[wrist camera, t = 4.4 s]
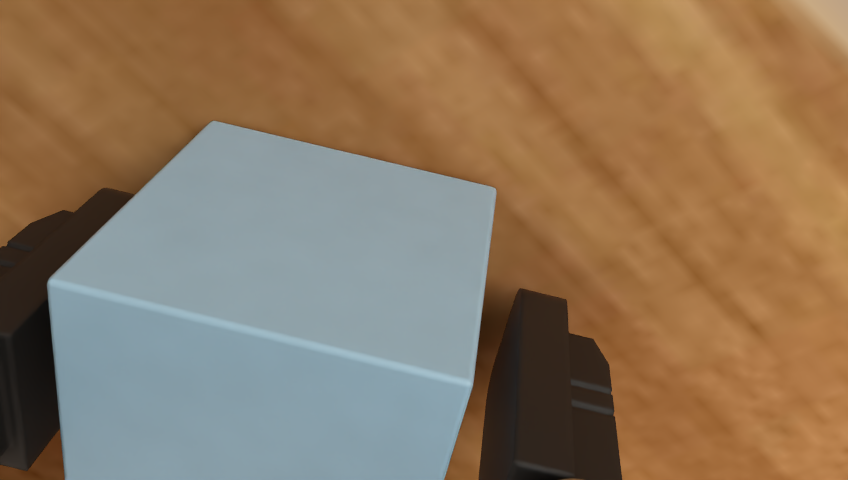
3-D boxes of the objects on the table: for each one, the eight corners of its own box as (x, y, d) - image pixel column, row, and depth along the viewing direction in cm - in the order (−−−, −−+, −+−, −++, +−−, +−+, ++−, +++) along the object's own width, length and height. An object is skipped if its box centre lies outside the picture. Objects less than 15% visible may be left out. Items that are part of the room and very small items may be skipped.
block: (201, 341, 13) (68, 551, 10) (211, 117, 11) (43, 279, 7) (438, 399, 13) (397, 634, 10) (498, 186, 11) (473, 384, 7)
